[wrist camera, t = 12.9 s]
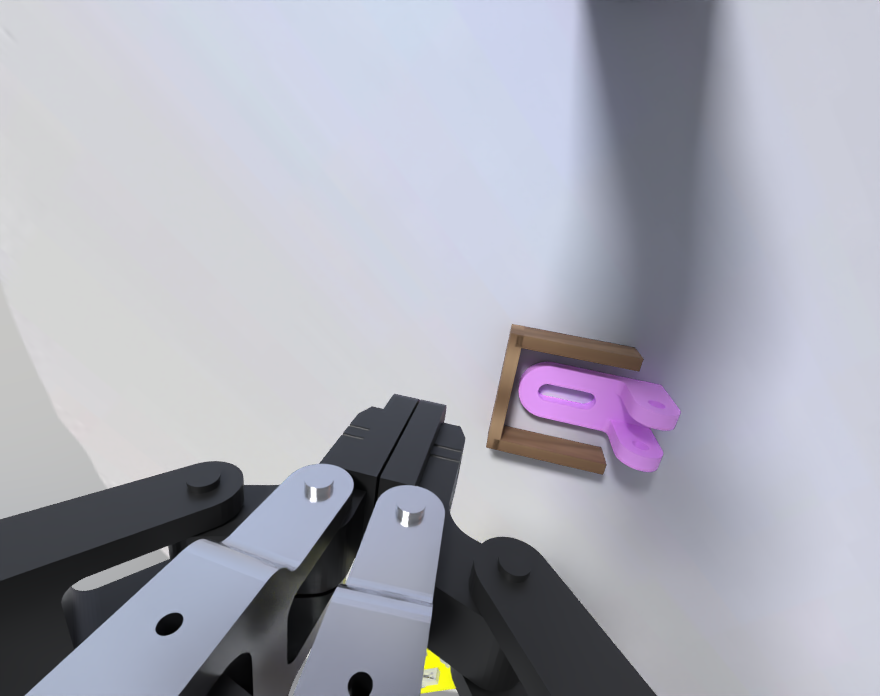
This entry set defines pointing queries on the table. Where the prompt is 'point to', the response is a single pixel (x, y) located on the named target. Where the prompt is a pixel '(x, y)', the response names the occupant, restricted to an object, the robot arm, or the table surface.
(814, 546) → the table surface
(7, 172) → the table surface
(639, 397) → the bracket
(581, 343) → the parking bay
